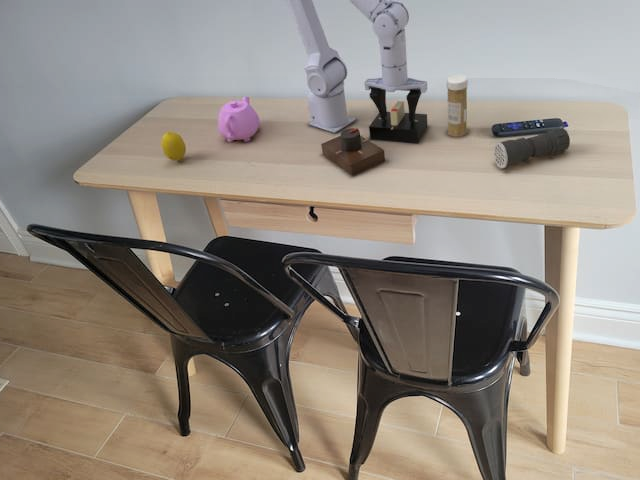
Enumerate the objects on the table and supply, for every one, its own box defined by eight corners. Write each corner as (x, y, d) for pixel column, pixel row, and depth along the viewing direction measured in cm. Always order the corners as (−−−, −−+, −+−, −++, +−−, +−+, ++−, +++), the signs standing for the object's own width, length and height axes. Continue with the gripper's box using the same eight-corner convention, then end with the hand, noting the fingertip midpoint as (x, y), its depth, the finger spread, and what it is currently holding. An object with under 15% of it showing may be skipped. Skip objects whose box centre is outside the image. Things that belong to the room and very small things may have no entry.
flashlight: (556, 143, 127) (559, 121, 123) (570, 155, 123) (574, 132, 119) (492, 161, 125) (493, 138, 121) (504, 172, 121) (506, 150, 117)
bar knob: (398, 114, 139) (397, 100, 137) (404, 114, 139) (403, 100, 136) (391, 125, 136) (390, 110, 133) (397, 125, 135) (396, 111, 133)
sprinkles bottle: (471, 132, 135) (472, 77, 127) (456, 139, 134) (456, 84, 125) (457, 126, 139) (457, 72, 130) (443, 133, 137) (442, 78, 128)
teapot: (214, 148, 146) (203, 114, 140) (235, 120, 157) (226, 87, 151) (251, 148, 143) (242, 113, 137) (271, 119, 154) (263, 86, 148)
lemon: (193, 155, 144) (183, 126, 139) (182, 167, 141) (172, 138, 135) (175, 154, 146) (164, 126, 141) (163, 166, 142) (152, 137, 137)
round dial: (349, 153, 129) (347, 138, 127) (338, 146, 132) (336, 131, 130) (365, 146, 131) (363, 131, 128) (354, 139, 134) (352, 124, 131)
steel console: (369, 141, 139) (367, 127, 136) (382, 122, 145) (381, 108, 143) (416, 145, 134) (416, 131, 132) (428, 125, 141) (428, 111, 138)
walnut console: (322, 155, 136) (320, 143, 134) (354, 141, 139) (352, 129, 137) (352, 176, 128) (350, 164, 125) (385, 161, 131) (384, 149, 128)
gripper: (357, 68, 128) (363, 124, 137) (420, 71, 123) (422, 128, 132) (368, 56, 133) (373, 110, 142) (429, 58, 128) (431, 114, 136)
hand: (397, 118), depth 137 cm, fingers open, 6 cm apart
